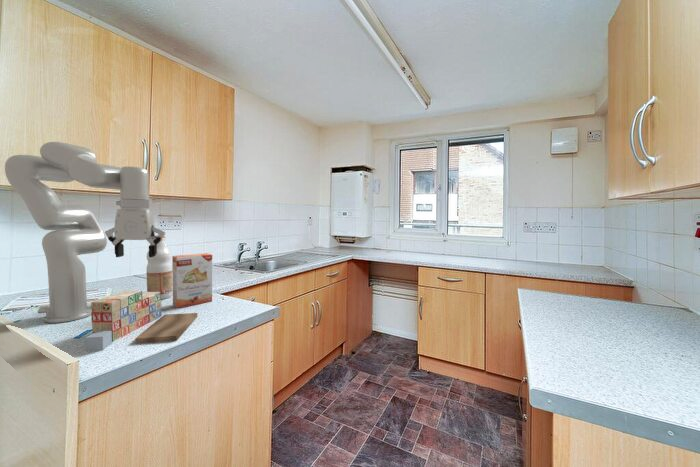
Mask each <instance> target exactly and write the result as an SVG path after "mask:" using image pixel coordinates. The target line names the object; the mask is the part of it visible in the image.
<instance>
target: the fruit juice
mask: <svg viewBox="0 0 700 467" xmlns="http://www.w3.org/2000/svg"><path fill="white" fill-rule="evenodd" d="M157 237H158V235H155V236H154V238H155V239H156V238H157ZM165 240H166V235H164V237H163V238H162V240H161V241H160V242H159V243H158V244H157V254H156V256H154V257H149V250H148V251H147V253H146V260H147V264H146V292H160V293H161V301H162V300H166V299H169V298H171V297H173V276H172V262H171V258H172V253H171V251H170V249H169V248H168V245H167V244H166V241H165Z"/></svg>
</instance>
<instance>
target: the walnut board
mask: <svg viewBox="0 0 700 467" xmlns="http://www.w3.org/2000/svg"><path fill="white" fill-rule="evenodd" d="M197 318H198V312H189V313H170V314H168V313H167V314H163V315H161V317H159V318H157V319H156V321H155V322H154V323H153V322H152V324H151V325H150V326H148V327H147V328H146V329H144V330H143V332H141V333H140V334H139V335H138V336H136V337H135V338H134V340H135V344H147V343H160V342H177V341H178V340H179V339H180V338H181V336H182V335H183V334H184V333H185V332H186V331H187V330H188V328H189V327H190V326H191V325H192V324H193V323H194V321H195V320H196V319H197Z"/></svg>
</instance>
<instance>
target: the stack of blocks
mask: <svg viewBox="0 0 700 467" xmlns="http://www.w3.org/2000/svg"><path fill="white" fill-rule="evenodd" d="M90 305H91V307H90V308H91V309H92V312H91V315H90V316H91V317H90V318H91V328H92V329H91V330H92V333H94V332H98V331H111V332H112V343H113V342H115V341H117V340H119V339H121V338H123V337H125V336H127V335H128V334H131V333H133V332H136V330H138V329H140V328H142V327H144V326H145V325H147V324H149V323H151V322H153V321H155V320H158V319H160V318H161V317H162V300H161V293H160V292H147V291H143V290H122V291H119V292H116V293H113V294H110V295H108V296H105V297H102V298H99V299H95V300H93V301H91V302H90ZM92 333H91V334H92Z"/></svg>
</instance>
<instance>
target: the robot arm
mask: <svg viewBox="0 0 700 467" xmlns="http://www.w3.org/2000/svg"><path fill="white" fill-rule="evenodd" d="M39 155H40V156H38V155H33V154H31V155H30V154H16V155H12V156H10V157H8V158H7V159H6V161H5V162H4V163H5V164H4V173H5V177H6V179H7V181H8V184H10V186H11V187H12V188H13V190H14V191H15V192H16V194H18V195H19V196H20V198H21V199H22V200H23V202H24V204H25V206H26V208H27V209H28V211H29V213H30V215H31V216H32V218H33V220H34V221H35V223H36V225H37V226H38V227H39V228H40V229H42V230H44V231H49V232H47V233H46V234H44V236H43V237H42V241H41V245H42V246H41V247H42V250H43V253H44V255H45V259H46V266H47V280H48V282H47V283H48V297H49V298H48V299H49V300H48V302H49V305H43V306H42V305H41V306H40V307H39V309H37V313H38V314H46V315H45V316H44V317H43V321H44V322H45V323H49V324H50V323H51V324H52V323H53V324H55V323H67V322H70V321H71V322H72V321H77V320H79V319H83V318H86V317H89V316H91V312H92V309H91V307H88V302H87V301H88V299H87V298H88V297H87V295H88V294H87V276H86V275H87V274H86V273H87V272H86V266H85V264H84V262H83V261H82V260H81V259H80V258H79V257H78V256H81V255H90V254H96V253H100V252H102V251H104V250H105V249H106V248H107V244H108V241H109V242H111V243H112V245H113V246H114V254H115V257H116V258H120V257H124V256H125V249H124V248H125V247H124V246H125V245H124V244H123V242H124V241H127V240H129V241H145V240H146V241H147V242H148V244H149V245H148V251H149V257H154V256H156V254H157V244H158V243H159V242H160V241H161V240H162V238H163V237H164V236H166V232H165V231H164V230H161V229H160V228H157V227H155V220H154V216H153V211H152V209H150V187H149V186H150V185H149V184H150V182H149V180H150V178H149V176H150V175H149V171H148V170H147V169H146V168H144V167H138V166H122V167H121V166H120V167H119V166H113V165H109V164H108V165H107V164H102V163H98V159H97V156H96V154H95V153H94V152H93V151H92V150H91V149H89V148H87V147H84V146H79V145H77V144H75V145H74V144H70V143H66V142H61V141H49V142H45V143H43V144H42V145H41V146H40V148H39ZM41 181H43V182H44V181H45V182H54V183H55V182H56V183H71V182H74V181H76V182H78V183H80V184H82V185H85V186H87V187H91V188H97V189H105V190H106V189H109V190H116V191H117V190H118V191H120V192H119V195H120V197H119V198H120V199H119V200H117V201H115V204H116V206H119V207H120V208H118V209H117V210H116V213H115V220H114V227H111V228H110V229H108V230H105V232H104V230H103V229H102V227H101V225H100V222H98V220H97V218H96V215H95V214H94V212H93V211H92V210H91V209H89V208H88V207H87V206H84V205H79V204H66V203H63V202H62V201H61V200H60V199H59V196H58V194H57V193H56V192H55V191H54V190H53V189H52V188H51V187H49V186H48V185H46V184H44V183H43V182H41ZM155 234H158V237H157V238H156V239H155V238H154V236H155ZM107 240H108V241H107Z"/></svg>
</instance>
